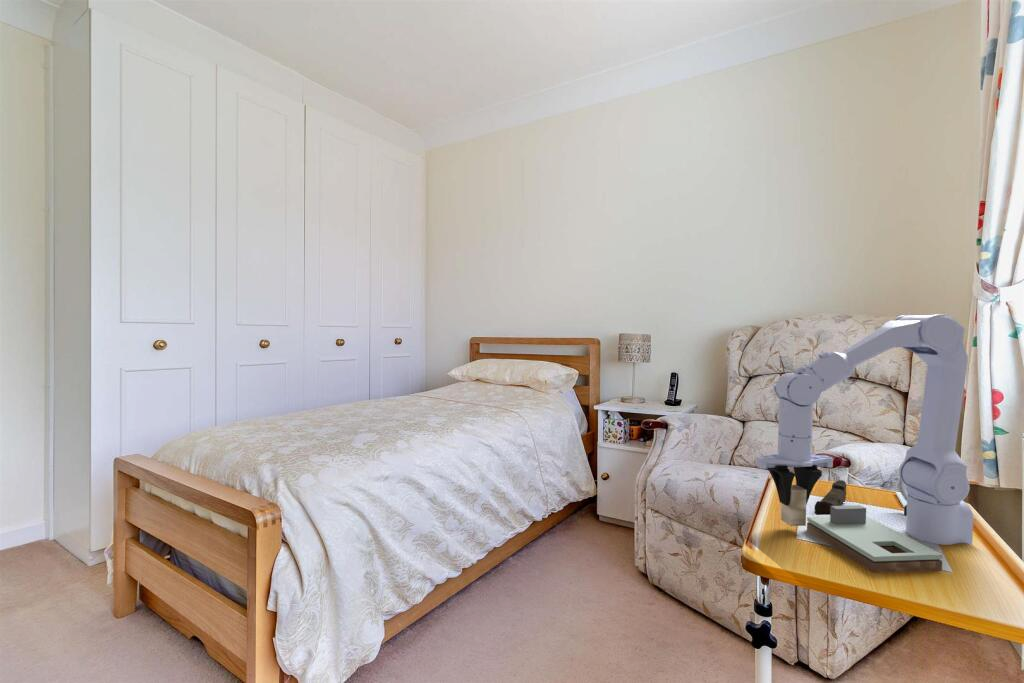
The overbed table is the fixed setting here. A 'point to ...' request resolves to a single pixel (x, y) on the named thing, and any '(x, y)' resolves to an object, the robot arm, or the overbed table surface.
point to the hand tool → (832, 498)
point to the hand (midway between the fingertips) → (793, 503)
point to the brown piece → (877, 565)
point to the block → (795, 507)
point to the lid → (870, 535)
